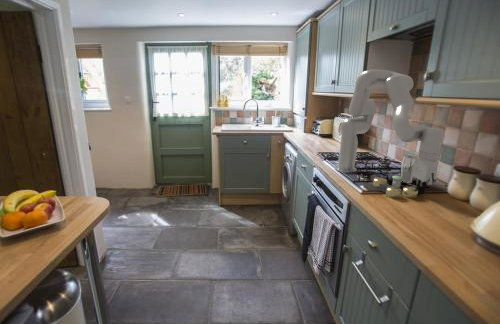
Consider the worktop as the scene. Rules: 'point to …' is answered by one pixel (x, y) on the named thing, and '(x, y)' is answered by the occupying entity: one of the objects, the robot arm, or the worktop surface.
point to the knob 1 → (390, 191)
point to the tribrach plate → (397, 181)
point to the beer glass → (407, 168)
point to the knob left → (378, 181)
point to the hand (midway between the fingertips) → (419, 193)
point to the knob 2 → (410, 192)
